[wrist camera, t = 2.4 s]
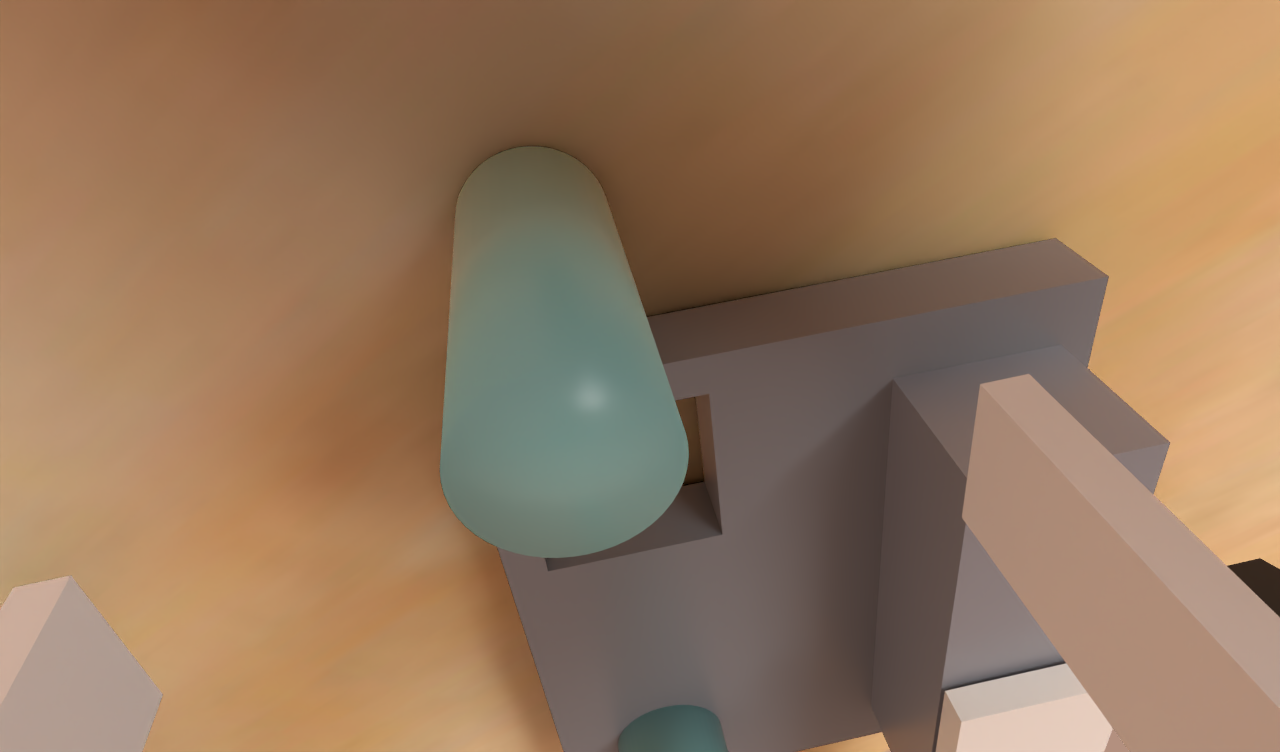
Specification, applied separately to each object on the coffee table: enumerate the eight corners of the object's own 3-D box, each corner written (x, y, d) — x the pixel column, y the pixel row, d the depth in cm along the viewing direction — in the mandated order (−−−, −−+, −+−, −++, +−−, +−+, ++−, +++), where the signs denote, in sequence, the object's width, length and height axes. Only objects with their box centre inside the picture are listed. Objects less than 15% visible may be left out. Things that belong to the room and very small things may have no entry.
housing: (453, 354, 23) (433, 774, 13) (1055, 238, 24) (1475, 541, 14) (573, 743, 35) (613, 1128, 24) (978, 652, 36) (1178, 984, 26)
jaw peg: (436, 161, 20) (407, 395, 12) (596, 133, 20) (676, 343, 12) (476, 301, 22) (474, 578, 14) (619, 274, 23) (698, 530, 14)
